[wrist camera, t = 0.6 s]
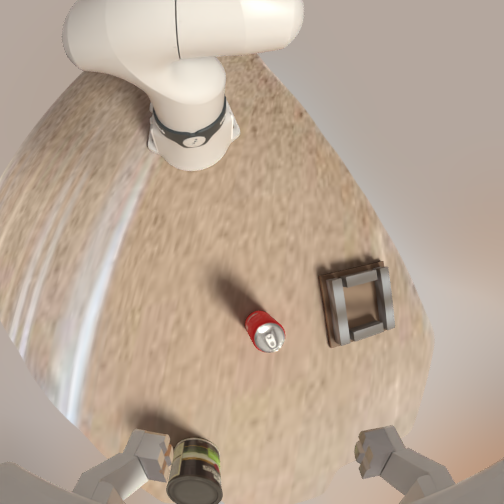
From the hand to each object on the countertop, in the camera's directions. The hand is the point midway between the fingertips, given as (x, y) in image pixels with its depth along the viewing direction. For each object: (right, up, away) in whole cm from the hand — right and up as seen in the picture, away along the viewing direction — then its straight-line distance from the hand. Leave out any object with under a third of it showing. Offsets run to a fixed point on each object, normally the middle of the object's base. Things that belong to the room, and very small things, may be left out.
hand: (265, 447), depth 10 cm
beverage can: (+1, -5, +45) cm, 45 cm away
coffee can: (-13, -36, +41) cm, 56 cm away
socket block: (+21, -3, +47) cm, 52 cm away
